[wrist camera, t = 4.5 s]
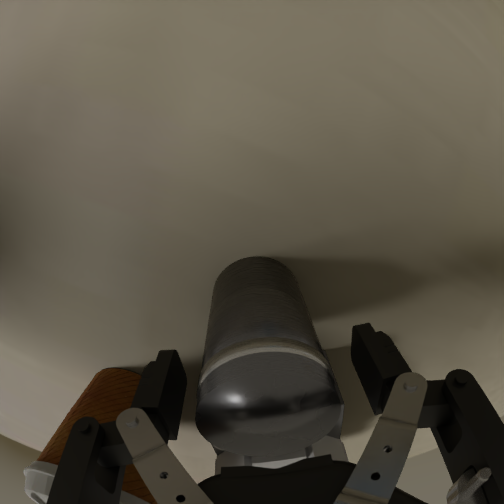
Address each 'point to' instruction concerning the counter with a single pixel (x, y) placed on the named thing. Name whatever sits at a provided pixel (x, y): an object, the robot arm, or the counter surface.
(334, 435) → the grey octagonal socket block
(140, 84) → the counter surface
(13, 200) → the counter surface
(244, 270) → the thermos
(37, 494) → the disposable coffee cup
